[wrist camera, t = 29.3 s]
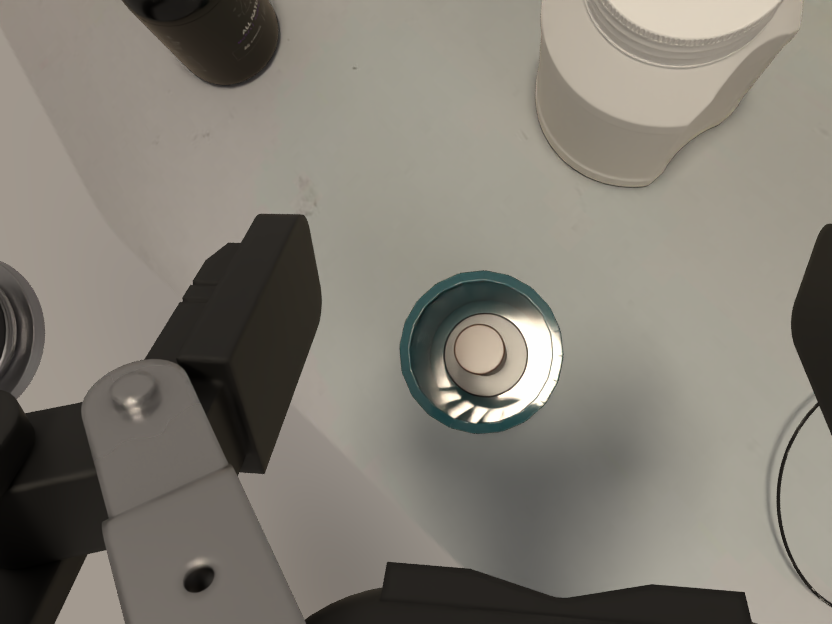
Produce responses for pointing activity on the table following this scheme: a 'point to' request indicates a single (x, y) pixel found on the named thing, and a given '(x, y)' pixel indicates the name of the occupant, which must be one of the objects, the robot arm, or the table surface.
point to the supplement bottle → (213, 34)
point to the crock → (430, 334)
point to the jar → (648, 76)
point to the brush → (485, 355)
